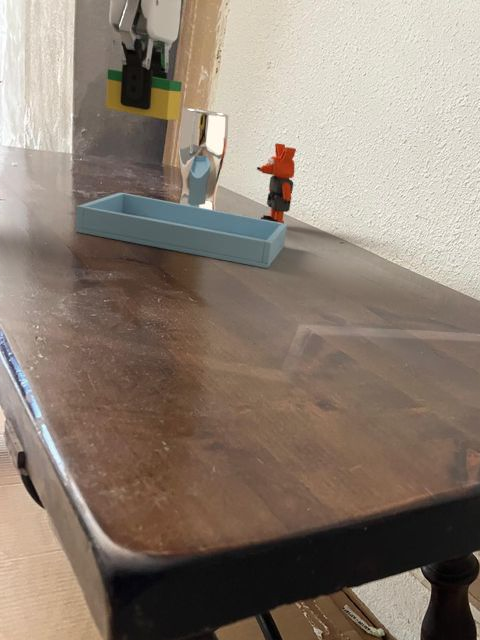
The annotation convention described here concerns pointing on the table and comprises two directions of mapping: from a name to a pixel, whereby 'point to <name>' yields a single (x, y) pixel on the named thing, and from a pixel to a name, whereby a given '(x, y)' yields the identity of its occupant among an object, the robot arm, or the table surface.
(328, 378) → the table surface
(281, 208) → the toy animal
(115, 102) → the sponge
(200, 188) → the beer glass
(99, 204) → the tray
